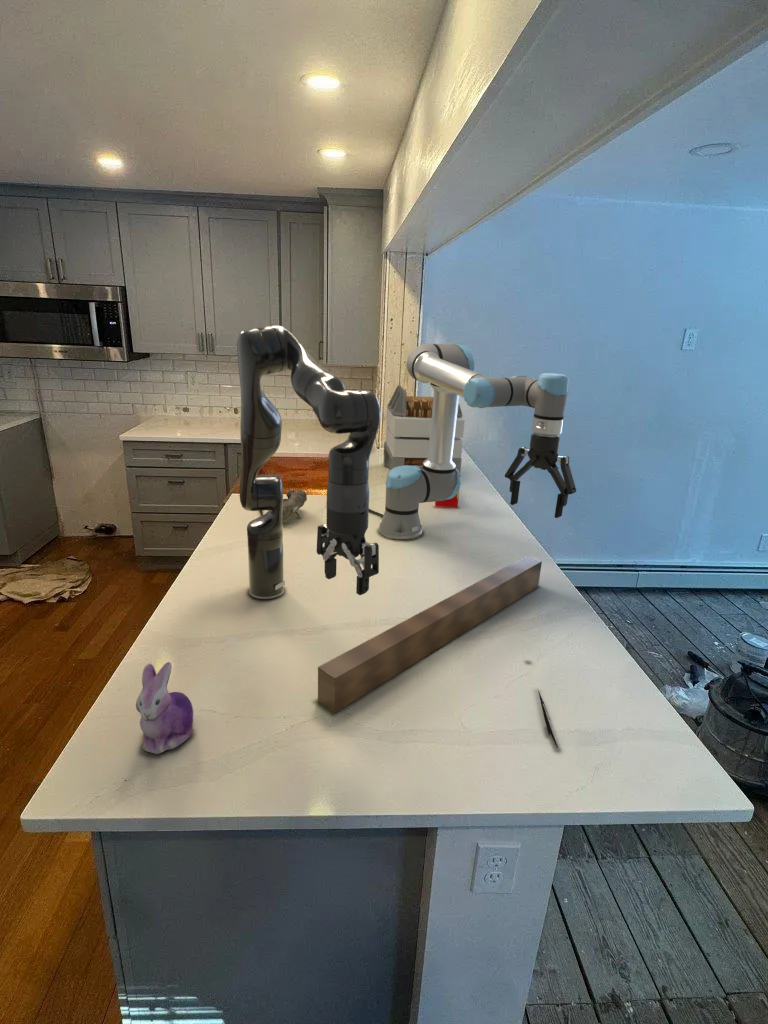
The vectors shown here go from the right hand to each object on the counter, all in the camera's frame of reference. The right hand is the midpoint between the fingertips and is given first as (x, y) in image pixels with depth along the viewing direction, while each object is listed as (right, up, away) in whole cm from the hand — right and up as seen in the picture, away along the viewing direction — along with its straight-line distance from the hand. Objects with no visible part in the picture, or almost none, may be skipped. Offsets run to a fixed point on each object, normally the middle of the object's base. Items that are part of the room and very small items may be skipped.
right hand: (535, 510), depth 156 cm
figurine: (-81, -41, -54) cm, 105 cm away
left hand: (-49, -14, -50) cm, 71 cm away
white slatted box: (-24, +18, +119) cm, 123 cm away
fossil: (-77, -2, +55) cm, 94 cm away
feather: (-10, -40, -40) cm, 57 cm away
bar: (-26, -30, -17) cm, 43 cm away
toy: (-17, +6, +85) cm, 87 cm away
